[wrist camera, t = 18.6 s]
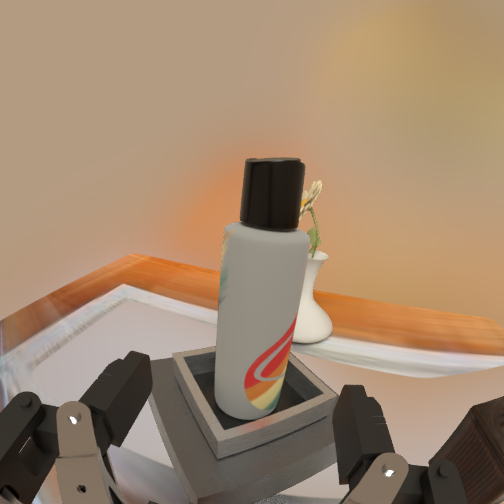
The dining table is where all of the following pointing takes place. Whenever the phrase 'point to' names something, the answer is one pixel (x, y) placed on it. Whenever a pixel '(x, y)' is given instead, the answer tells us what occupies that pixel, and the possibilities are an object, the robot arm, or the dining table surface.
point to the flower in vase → (311, 282)
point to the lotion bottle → (260, 288)
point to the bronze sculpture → (479, 452)
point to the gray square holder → (240, 431)
